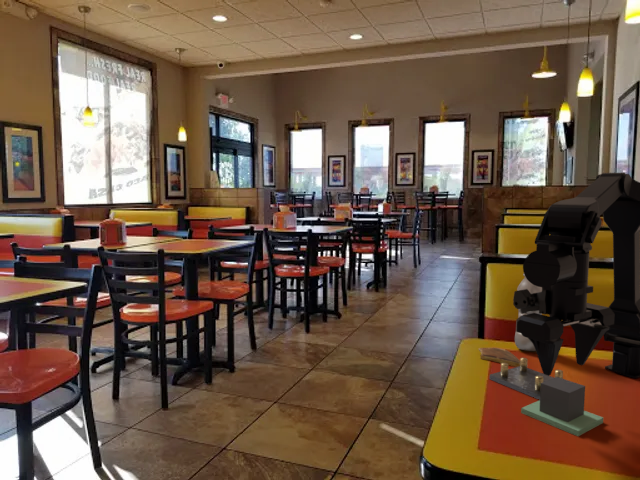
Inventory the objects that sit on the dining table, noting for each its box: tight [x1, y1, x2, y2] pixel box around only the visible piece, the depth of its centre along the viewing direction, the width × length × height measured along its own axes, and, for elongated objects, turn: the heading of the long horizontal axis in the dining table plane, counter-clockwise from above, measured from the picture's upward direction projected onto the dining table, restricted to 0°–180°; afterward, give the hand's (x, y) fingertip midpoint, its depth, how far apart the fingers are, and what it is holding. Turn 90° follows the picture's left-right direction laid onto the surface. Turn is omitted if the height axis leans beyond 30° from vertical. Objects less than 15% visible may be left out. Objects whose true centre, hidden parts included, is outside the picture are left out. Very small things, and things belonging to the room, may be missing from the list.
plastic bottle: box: [514, 273, 543, 352], centre depth 119 cm, size 6×7×20 cm
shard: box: [478, 347, 520, 368], centre depth 112 cm, size 11×8×2 cm
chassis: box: [488, 357, 564, 401], centre depth 98 cm, size 10×12×4 cm
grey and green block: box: [520, 376, 604, 437], centre depth 84 cm, size 8×10×6 cm
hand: (563, 369), depth 84 cm, fingers open, 9 cm apart
